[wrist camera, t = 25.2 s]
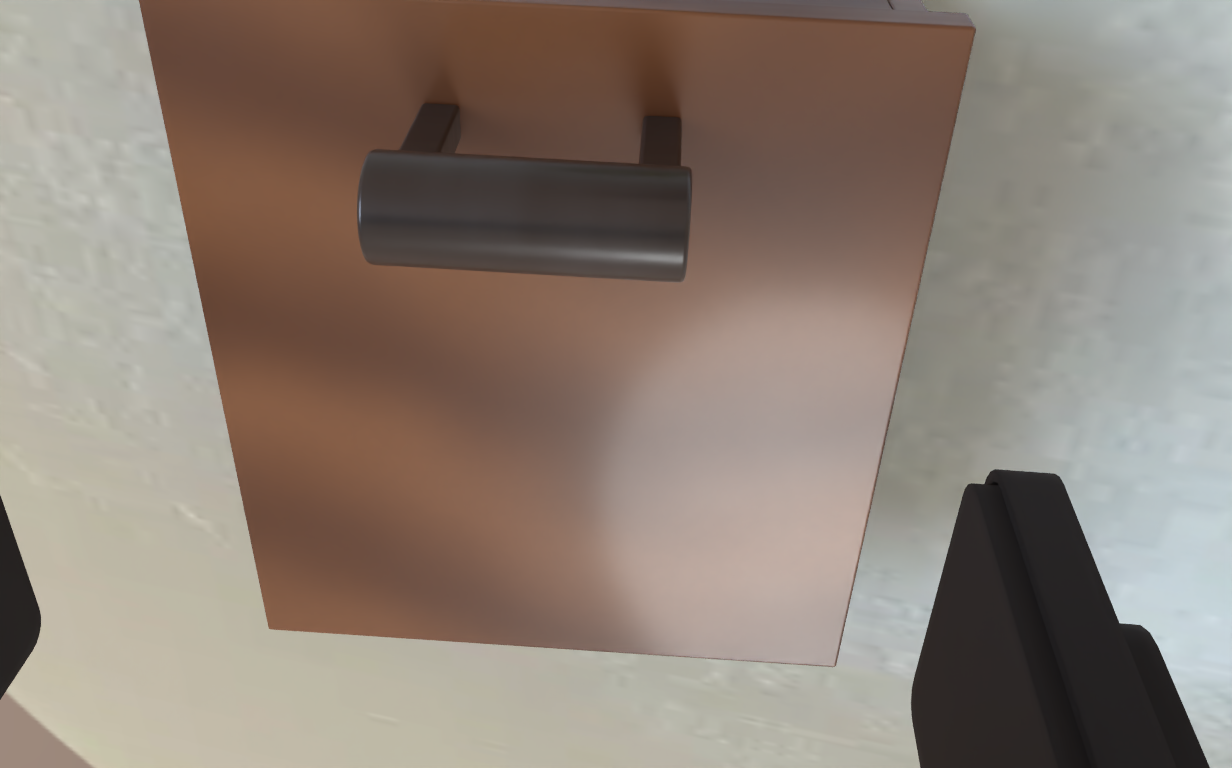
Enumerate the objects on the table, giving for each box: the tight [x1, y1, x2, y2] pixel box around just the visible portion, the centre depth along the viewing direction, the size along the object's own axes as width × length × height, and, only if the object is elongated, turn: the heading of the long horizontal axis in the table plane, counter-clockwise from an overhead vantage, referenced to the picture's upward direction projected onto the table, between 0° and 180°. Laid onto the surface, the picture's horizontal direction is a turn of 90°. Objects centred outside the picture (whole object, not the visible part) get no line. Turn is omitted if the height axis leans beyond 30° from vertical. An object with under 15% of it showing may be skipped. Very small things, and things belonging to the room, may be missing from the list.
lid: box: [139, 0, 976, 667], centre depth 23 cm, size 16×14×5 cm
